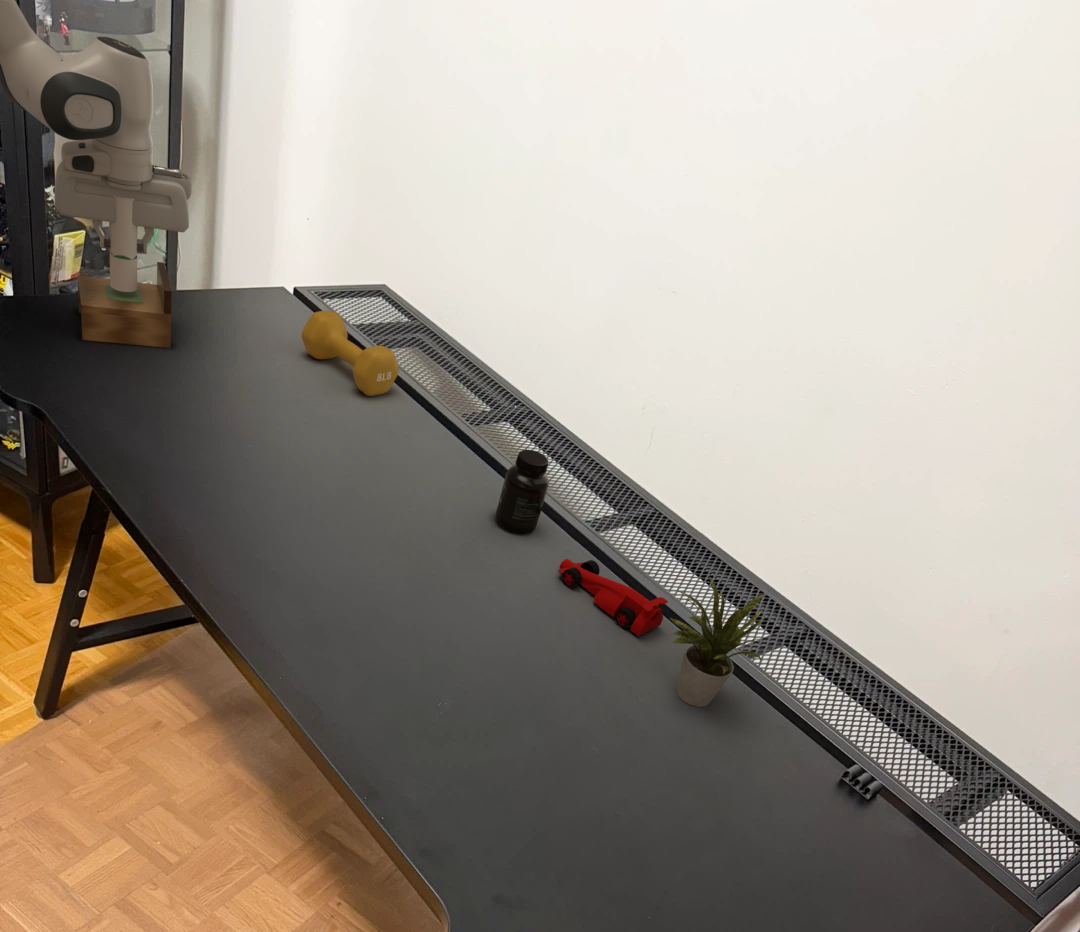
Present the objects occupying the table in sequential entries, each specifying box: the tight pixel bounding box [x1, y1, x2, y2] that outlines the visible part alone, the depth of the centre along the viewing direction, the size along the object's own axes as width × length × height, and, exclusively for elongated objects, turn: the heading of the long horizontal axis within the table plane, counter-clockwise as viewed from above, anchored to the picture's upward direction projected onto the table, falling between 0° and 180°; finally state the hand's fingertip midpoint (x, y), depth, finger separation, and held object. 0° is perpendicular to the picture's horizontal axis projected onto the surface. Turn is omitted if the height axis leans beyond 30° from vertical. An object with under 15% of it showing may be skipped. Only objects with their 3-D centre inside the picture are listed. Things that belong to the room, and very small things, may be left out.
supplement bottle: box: [494, 449, 550, 536], centre depth 159 cm, size 7×7×12 cm
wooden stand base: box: [77, 261, 173, 349], centre depth 174 cm, size 14×12×10 cm
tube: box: [108, 195, 138, 292], centre depth 168 cm, size 4×4×15 cm
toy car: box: [557, 558, 669, 637], centre depth 152 cm, size 6×18×5 cm, turn 47°
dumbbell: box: [301, 310, 400, 397], centre depth 184 cm, size 19×9×8 cm, turn 47°
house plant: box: [669, 576, 767, 708], centre depth 137 cm, size 14×14×16 cm
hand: (123, 249), depth 169 cm, fingers closed on tube, 4 cm apart
